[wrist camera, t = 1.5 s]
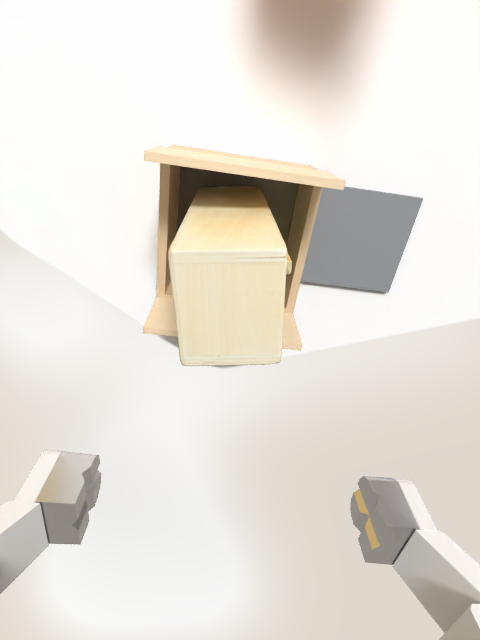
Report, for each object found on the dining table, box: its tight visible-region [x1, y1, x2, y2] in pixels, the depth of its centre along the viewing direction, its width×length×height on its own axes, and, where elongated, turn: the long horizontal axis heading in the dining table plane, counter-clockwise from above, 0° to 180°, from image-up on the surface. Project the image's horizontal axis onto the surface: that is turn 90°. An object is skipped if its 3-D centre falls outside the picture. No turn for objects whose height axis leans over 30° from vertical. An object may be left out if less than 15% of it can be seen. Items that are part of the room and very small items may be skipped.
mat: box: [301, 187, 423, 292], centre depth 40 cm, size 11×11×1 cm
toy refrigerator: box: [168, 186, 292, 366], centre depth 30 cm, size 8×7×21 cm
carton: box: [143, 145, 346, 351], centre depth 34 cm, size 14×14×13 cm
